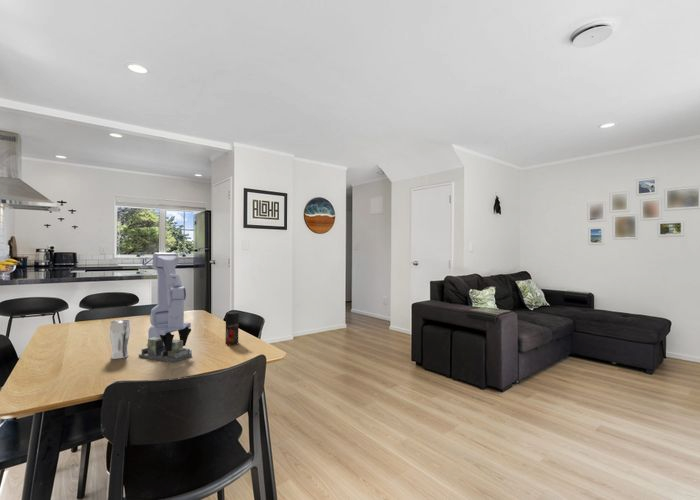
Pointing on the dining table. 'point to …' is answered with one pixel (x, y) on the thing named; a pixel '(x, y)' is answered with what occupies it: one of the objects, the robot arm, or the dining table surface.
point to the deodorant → (232, 328)
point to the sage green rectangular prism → (176, 347)
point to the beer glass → (119, 338)
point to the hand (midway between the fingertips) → (175, 348)
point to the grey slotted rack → (162, 351)
